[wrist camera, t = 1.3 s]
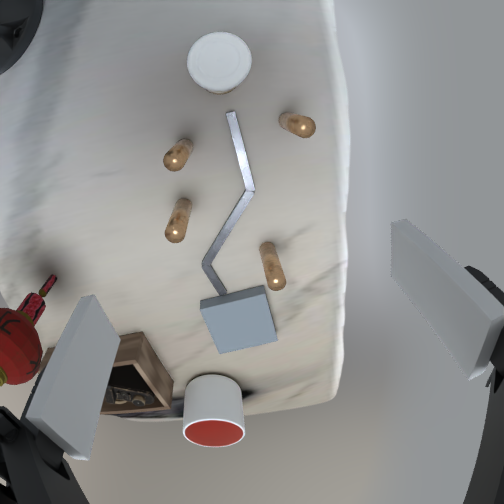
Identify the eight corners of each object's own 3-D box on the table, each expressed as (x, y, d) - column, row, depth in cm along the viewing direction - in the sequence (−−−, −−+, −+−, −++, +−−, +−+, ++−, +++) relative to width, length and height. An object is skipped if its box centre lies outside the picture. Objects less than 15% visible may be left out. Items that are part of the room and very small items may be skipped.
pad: (200, 300, 44) (199, 309, 42) (263, 285, 43) (265, 293, 42) (219, 344, 48) (219, 354, 46) (275, 331, 47) (277, 340, 46)
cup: (240, 369, 51) (244, 417, 42) (241, 402, 56) (245, 446, 47) (181, 371, 50) (177, 419, 41) (189, 404, 55) (188, 447, 46)
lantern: (28, 291, 40) (-61, 442, 14) (30, 240, 37) (-94, 397, 10) (78, 311, 43) (8, 485, 16) (84, 262, 39) (-17, 453, 13)
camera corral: (48, 348, 46) (36, 371, 41) (142, 331, 45) (135, 359, 40) (83, 392, 52) (76, 415, 47) (173, 381, 51) (170, 408, 46)
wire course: (151, 135, 33) (133, 146, 26) (291, 98, 32) (310, 98, 25) (208, 296, 43) (207, 335, 36) (322, 267, 43) (341, 301, 36)
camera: (74, 368, 49) (62, 400, 42) (68, 343, 46) (54, 377, 39) (158, 385, 52) (153, 420, 45) (159, 361, 49) (153, 399, 42)
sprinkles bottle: (223, 102, 32) (224, 103, 20) (190, 79, 30) (172, 67, 18) (249, 71, 30) (266, 55, 19) (217, 48, 29) (214, 18, 17)
